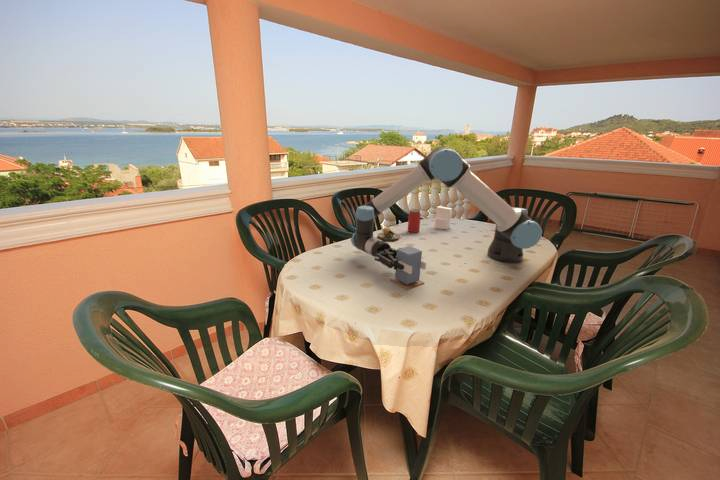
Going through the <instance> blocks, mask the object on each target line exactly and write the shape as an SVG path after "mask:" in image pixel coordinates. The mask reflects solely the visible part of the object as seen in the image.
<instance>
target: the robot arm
mask: <svg viewBox="0 0 720 480" xmlns="http://www.w3.org/2000/svg"><path fill="white" fill-rule="evenodd" d="M435 179H436V180H438V181H440V182H441V183H442V184H443V185H444V186H445V187H447V188H448V189H451V188H453V189H455V190H456V191H457V192H459V193H460V194H461V195H462V196H463V197H465V198H466V200H468V201H469V202H470V203H471V204H473V205H474V206H475V207H476V208H477V209H479V211H481V212H482V213H483V214H484V215H485V216H486V217H487V218H489V219H490V220H491V221H492V222H493V223H495V229H494V235H493V239H492V241H491V243H490V244H489V247H488V249H487V253H486V254H487V257H489V258H491V259H493V260H496V261H500V262H505V263H520V262H521V261H523V259H524V250H525V249H532V248H533V247H535V246H536V245H537V244H538V243H539V242H540V240H542V236H543V229H542V227H541V226H540V224H539V222H537V221H535V220H533V219H532V218H531V217H529V216H528V214H529V213H528V209H526V208H523V207H512V206H511V205H510V204H508V203H507V202H506V201H505V200H504V199H503V198H502V197H501V196H499V195H498V193H496V192H495V191H494V190H493V189H491V188H490V187H489V186H488V185H487V184H486V183H484V181H482V180H481V179H480V178H479V177H478V176H477V175H476V174H475V173H473V172H472V170H471V165H470V163H468V162H467V161H466V160H464V158H463V157H462V156H461V155H460V154H459V152H458V151H456V150H454V149H453V148H448V147H445V146H443V147H442V146H441V147H437V148H434V149H433V150H432V151H431V152H429V154H427V155H426V156H425V157H424V158H423V159H421V160H420V161H419V162H418V163H417V166H416V167H415V168H413V169H412V170H410V171H409V172H408V173H406V174H404V175H403V176H402V177H401V178H400V179H398V180H397V181H396V182H394V183H392V184H391V185H390V186H389V187H387V188H386V189H385V190H383V191H382V192H380V193H379V194H377V196H375V197H374V198H372V199H371V200H369V201H368V202H366V203H364V204H363V205H360V206H358V207H356V211H355V232H354V233H352V236H351V237H350V242H351V245H352V246H353V247H354V248H356V249H357V250H360V251H362V252H363V253H366V254H368V255H370V256H371V257H374V261H377V262H379V263H381V264H382V265H384V266H385V267H387V268H388V269H392V268H393V270H394V271H396V270H397V268H399V269H401V270H403V271H405V272H407V273H409V274H412V266H410V265H408V264H406V263H403V262H401V261H398V262H397V260H396V257H397V249H395V248H393V247H391V245H390V244H389V243H388V242H387V241H383V240H379V238H378V237H377V238H376V237H375V236H374V223H375V222H374V221H375V218H377V217H378V216H380V215H381V214H382V213H383V212H385V211H387V209H389V208H390V207H392V206H393V205H395V204H396V203H398V202H399V201H401V200H402V199H403V198H405V197H407V195H409V194H410V193H412V192H414V191H415V190H416V189H417V188H419V187H421V186H422V185H423V184H424V183H426V182H431V181H433V180H435ZM420 269H422V270H427V262H426V261H424V260H422V259H421V267H420Z"/></svg>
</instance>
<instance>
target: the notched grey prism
mask: <svg viewBox="0 0 720 480" xmlns="http://www.w3.org/2000/svg"><path fill="white" fill-rule="evenodd" d="M396 250H397V257H396V260H397V262H398V261H401V262H403V263H406V264H408V265H410V266H412V274H409V273H407V272H405V271H403V270H401V269H399V268H397V270H395V275H394V278H396V279H398V280H399V281H401V282H403V283H405V284H410V283H413V282H416V281H419V280H420V276H421V275H420V274H421V268H420V267H421V260H422V256H423V255H422V253H423V251H422V250H421V249H419V248H416V247H413V246H411V245H408V246H403V247H398V248H396Z"/></svg>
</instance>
